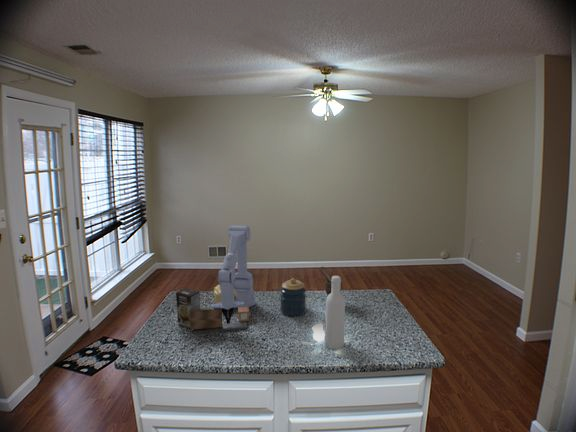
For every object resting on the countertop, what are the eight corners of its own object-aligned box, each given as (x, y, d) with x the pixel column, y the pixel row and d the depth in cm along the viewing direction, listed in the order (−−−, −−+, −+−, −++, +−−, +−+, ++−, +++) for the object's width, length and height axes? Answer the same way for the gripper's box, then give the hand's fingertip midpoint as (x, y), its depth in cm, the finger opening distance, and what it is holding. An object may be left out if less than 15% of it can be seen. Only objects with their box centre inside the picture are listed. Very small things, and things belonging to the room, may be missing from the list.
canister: (306, 305, 177) (306, 274, 174) (305, 317, 164) (305, 283, 161) (282, 304, 178) (281, 273, 175) (278, 316, 166) (278, 282, 162)
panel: (222, 325, 155) (221, 306, 153) (222, 326, 153) (221, 308, 151) (190, 328, 152) (189, 309, 151) (190, 329, 151) (189, 311, 149)
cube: (248, 315, 167) (248, 306, 166) (249, 321, 162) (248, 311, 161) (238, 316, 166) (238, 307, 165) (238, 322, 161) (238, 312, 160)
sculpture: (211, 301, 182) (210, 282, 180) (232, 297, 188) (232, 278, 186) (217, 310, 172) (216, 290, 170) (239, 305, 178) (239, 286, 176)
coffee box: (177, 324, 159) (175, 292, 156) (187, 318, 164) (185, 287, 161) (191, 328, 154) (189, 296, 151) (201, 322, 160) (199, 290, 157)
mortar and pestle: (320, 307, 175) (320, 271, 171) (318, 300, 184) (319, 265, 180) (342, 307, 175) (343, 270, 171) (339, 300, 184) (340, 265, 180)
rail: (246, 324, 158) (246, 322, 158) (247, 328, 154) (246, 326, 154) (193, 329, 154) (193, 327, 154) (192, 334, 150) (192, 331, 150)
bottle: (331, 337, 147) (333, 272, 142) (347, 343, 142) (349, 276, 137) (321, 345, 141) (322, 277, 136) (337, 352, 136) (339, 282, 131)
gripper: (210, 299, 147) (211, 328, 149) (243, 297, 149) (244, 325, 152) (211, 293, 153) (212, 320, 156) (243, 290, 156) (244, 318, 158)
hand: (228, 322), depth 154 cm, fingers closed
